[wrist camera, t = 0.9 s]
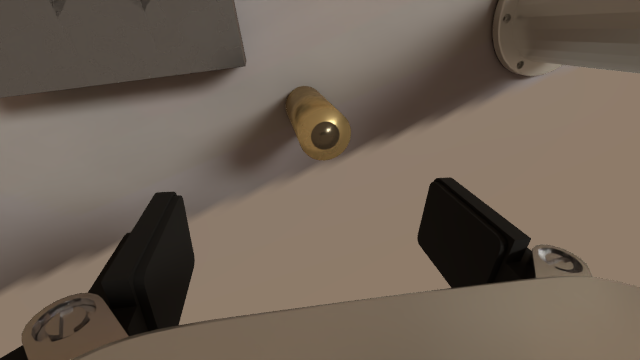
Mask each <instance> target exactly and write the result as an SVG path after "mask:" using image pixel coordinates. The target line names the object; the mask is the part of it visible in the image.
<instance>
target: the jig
mask: <svg viewBox="0 0 640 360" xmlns="http://www.w3.org/2000/svg"><path fill="white" fill-rule="evenodd" d="M245 65H246V57H245V52H244V47H243V42H242V37H241V33H240V28H239V23H238V18H237V13H236V8H235V3H234V0H0V98H2V97H10V96H18V95H25V94H33V93H41V92H49V91H56V90H64V89H72V88H80V87H88V86H95V85H103V84H111V83H119V82H126V81H134V80H142V79H150V78H158V77H165V76H173V75H181V74H189V73H196V72H204V71H212V70H220V69H228V68H235V67H243V66H245Z"/></svg>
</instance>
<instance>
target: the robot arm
mask: <svg viewBox="0 0 640 360" xmlns="http://www.w3.org/2000/svg"><path fill="white" fill-rule="evenodd" d="M493 43H494V48H495V51H496V54H497V57H498V58H499V60H500V62H501V63H502V65H504V66H505V67H506V68H507V69H508V70H509V71H511V72H513V73H515V74H520V75H524V76H538V75H544V74H546V73H549V72H552V71H554V70H555V69H557V68H559V67H561V66H562V65H570V66H579V67H588V68H597V69H606V70H616V71H624V72H633V73H640V0H499V1H498V4H497V7H496V10H495V16H494V21H493ZM530 240H531V238H529V237H528V236H527V235H526V234H524V233H523V232H522V231H520V230H519V229H518V228H517V227H515V226H514V225H513V224H511V223H510V222H509V221H507V220H506V219H505V218H503V217H502V216H501V215H499V214H498V213H497V212H496V211H494V210H493V209H492V208H490V207H489V206H488V205H487V204H485V203H484V202H482V201H481V200H480V199H479V198H477V197H476V196H475V195H473V194H472V193H471V192H470V191H468V190H467V189H466V188H464V187H463V186H462V185H460V184H459V183H458V182H456V181H455V180H454V179H452V178H436V179H435V180H434V182H432V183H431V184H430V186H429V191H428V195H427V199H426V203H425V207H424V212H423V216H422V220H421V224H420V228H419V232H418V243H419V245H420V246H421V247H422V249H423V250H424V252H425V253H426V254H427V255H428V257H429V258H430V260H431V261H432V262H433V264H434V265H435V266H436V267H437V269H438V270H439V272H440V273H441V274H442V276H443V277H444V278H445V280H446V281H447V282H448V284H449V285H450V286H451V288H449V289H440V290H432V291H425V292H417V293H409V294H401V295H394V296H386V297H378V298H370V299H362V300H355V301H348V302H340V303H332V304H325V305H317V306H310V307H303V308H295V309H288V310H280V311H273V312H266V313H259V314H251V315H244V316H236V317H229V318H222V319H214V320H208V321H202V322H196V323H190V324H185V325H179V321H180V317H181V314H182V310H183V306H184V302H185V299H186V294H187V291H188V287H189V283H190V279H191V276H192V272H193V268H194V253H193V248H192V243H191V238H190V232H189V228H188V222H187V217H186V212H185V207H184V202H183V198H182V196H177V195H176V193H175V192H159V193H155V195H154V196H153V198H152V199H151V201H150V203H149V204H148V206H147V208H146V209H145V211H144V212H143V214H142V216H141V217H140V219H139V221H138V222H137V224H136V225H135V227H134V229H133V230H132V232H131V233H127V234H126V235H125V236H124V237H123V239H122V240H121V242H120V243H119V245H118V246H117V248H116V250H115V251H114V253H113V254H112V256H111V257H110V259H109V260H108V262H107V264H106V265H105V267H104V268H103V270H102V272H101V273H100V275H99V276H98V278H97V279H96V281H95V282H94V284H93V286H92V287H91V289H90V290H89V292H88V293H80V294H75V295H71V296H67V297H65V298H63V299H60V300H58V301H56V302H54V303H52V304H50V305H49V306H47V307H45V308H44V309H43V310H41V311H40V312H39V313H37V314H36V315H35V316H34V317H33V318H32V319H31V320H30V321H29V322H28V324H27V325H26V326H25V329H24V331H23V333H22V343H23V345H22V346H21V347H19V348H17V349H16V350H14V351H12V352H10V353H9V354H7V355H5V356H4V357H2V358H0V360H640V287H637V286H634V285H630V284H626V283H623V282H618V281H614V280H608V279H603V278H596V277H592V274H591V272H590V270H589V268H588V266H587V264H586V263H585V262H583V260H581V259H580V258H579V257H577V256H576V255H574V254H573V253H570V252H568V251H566V250H564V249H561V248H558V247H555V246H551V245H537V246H535V247H534V248H533V249H532V251H531V250H530V249H528V248H527V246H528V244H529V242H530Z"/></svg>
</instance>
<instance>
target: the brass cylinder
mask: <svg viewBox="0 0 640 360" xmlns="http://www.w3.org/2000/svg"><path fill="white" fill-rule="evenodd" d="M286 112H287V114H288V117H289V119H290V121H291V124H292V126H293V129H294V131H295V133H296V136H297V138H298V141H299V143H300V145H301V147H302V149H303V151H304V152H305V153H306V154H307V155H308V156H310V157H311V158H314V159H317V160H329V159H333V158H335V157H337V156H338V155H340V154H341V153H342V152H343V151H344V150H345V149H346V147H347V145H348V143H349V141H350V137H351V129H350V125H349V122H348V121H347V119H346V118H345V117H344V116H343V115H342V114H341V113H340V112H339V111H338V110H337V109H336V108H335V107H334V106H333V105H332V104H331V103H329V102H328V101H327V100H326V99H325V98H324V97H323V96H322V95H321V94H320V93H319V92H318V91H317V90H315V89H314V88H312V87H308V86H301V87H298V88H296V89H294V90H293V91H292V92H291V93H290V94H289V95H288V97H287V100H286Z"/></svg>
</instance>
